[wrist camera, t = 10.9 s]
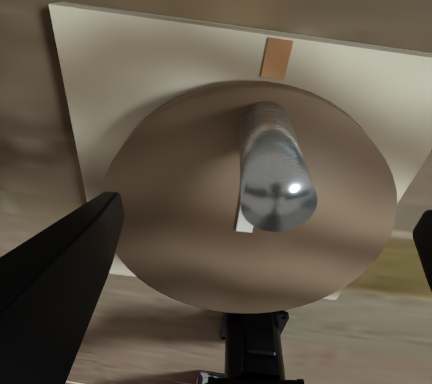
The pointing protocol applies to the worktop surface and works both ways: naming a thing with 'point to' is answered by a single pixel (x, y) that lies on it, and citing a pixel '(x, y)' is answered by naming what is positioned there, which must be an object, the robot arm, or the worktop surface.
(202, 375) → the candy bar box
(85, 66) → the birch board
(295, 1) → the worktop surface
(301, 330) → the worktop surface
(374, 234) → the walnut dial
